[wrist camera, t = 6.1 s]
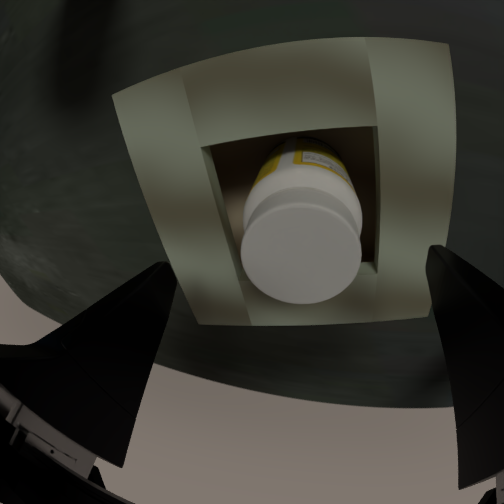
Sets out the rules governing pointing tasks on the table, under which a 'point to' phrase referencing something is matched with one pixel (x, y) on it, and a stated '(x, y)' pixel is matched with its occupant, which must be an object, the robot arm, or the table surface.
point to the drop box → (286, 126)
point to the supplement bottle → (302, 224)
